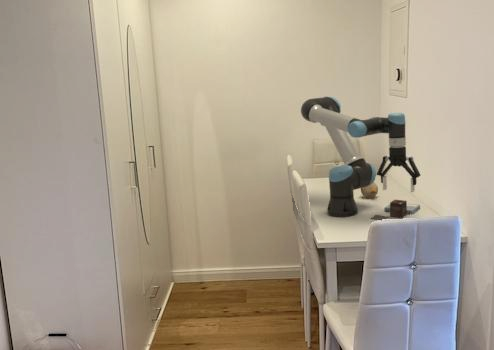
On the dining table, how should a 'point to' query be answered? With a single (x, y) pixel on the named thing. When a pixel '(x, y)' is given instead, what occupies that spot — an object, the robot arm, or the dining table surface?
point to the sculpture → (370, 190)
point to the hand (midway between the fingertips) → (398, 190)
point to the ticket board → (410, 208)
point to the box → (398, 208)
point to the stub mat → (379, 217)
